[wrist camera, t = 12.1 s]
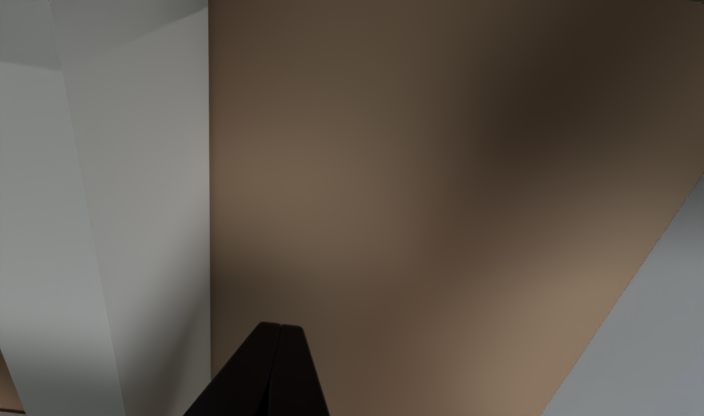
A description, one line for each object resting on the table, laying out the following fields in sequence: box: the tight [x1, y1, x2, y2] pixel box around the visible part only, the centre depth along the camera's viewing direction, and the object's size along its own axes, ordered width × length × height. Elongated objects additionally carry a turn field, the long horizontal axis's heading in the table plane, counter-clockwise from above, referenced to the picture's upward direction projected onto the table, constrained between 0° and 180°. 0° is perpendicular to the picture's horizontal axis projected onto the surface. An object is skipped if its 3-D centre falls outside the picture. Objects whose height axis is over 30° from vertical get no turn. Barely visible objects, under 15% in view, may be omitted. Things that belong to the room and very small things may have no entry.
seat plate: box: [0, 0, 704, 416], centre depth 8 cm, size 20×13×3 cm, turn 80°
